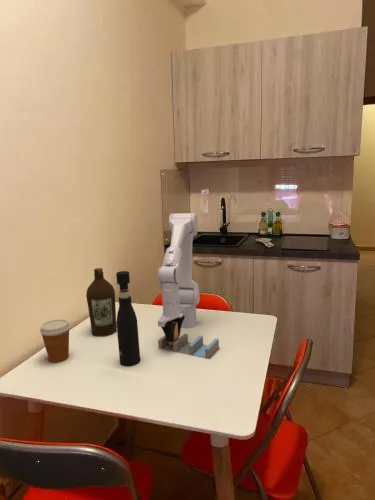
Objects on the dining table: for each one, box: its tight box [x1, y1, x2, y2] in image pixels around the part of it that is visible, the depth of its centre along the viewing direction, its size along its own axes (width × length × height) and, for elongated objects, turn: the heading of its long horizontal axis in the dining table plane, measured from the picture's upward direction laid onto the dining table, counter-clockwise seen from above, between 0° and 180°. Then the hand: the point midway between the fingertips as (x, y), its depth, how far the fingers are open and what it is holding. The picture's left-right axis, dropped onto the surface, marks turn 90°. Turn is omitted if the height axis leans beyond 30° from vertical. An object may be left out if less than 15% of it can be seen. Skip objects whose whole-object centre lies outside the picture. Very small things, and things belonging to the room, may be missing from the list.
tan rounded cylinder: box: [168, 321, 180, 345], centre depth 127 cm, size 4×4×7 cm
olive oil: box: [86, 267, 117, 337], centre depth 143 cm, size 11×11×25 cm
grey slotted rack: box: [157, 333, 220, 360], centre depth 125 cm, size 19×8×4 cm, turn 62°
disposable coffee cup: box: [39, 319, 71, 364], centre depth 124 cm, size 10×10×12 cm
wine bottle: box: [115, 270, 141, 367], centre depth 116 cm, size 6×6×30 cm
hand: (173, 338), depth 128 cm, fingers closed on tan rounded cylinder, 4 cm apart
